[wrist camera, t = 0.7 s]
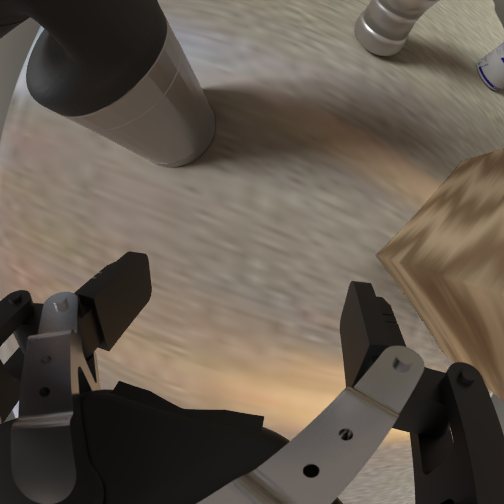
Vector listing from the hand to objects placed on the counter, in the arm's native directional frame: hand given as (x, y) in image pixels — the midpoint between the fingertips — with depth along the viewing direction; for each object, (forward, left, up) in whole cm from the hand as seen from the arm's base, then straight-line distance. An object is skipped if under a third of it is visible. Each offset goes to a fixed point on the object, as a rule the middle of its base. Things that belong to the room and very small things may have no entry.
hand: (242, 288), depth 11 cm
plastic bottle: (-23, +21, -20) cm, 37 cm away
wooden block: (+7, +25, -20) cm, 32 cm away
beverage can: (-19, +42, -20) cm, 50 cm away
